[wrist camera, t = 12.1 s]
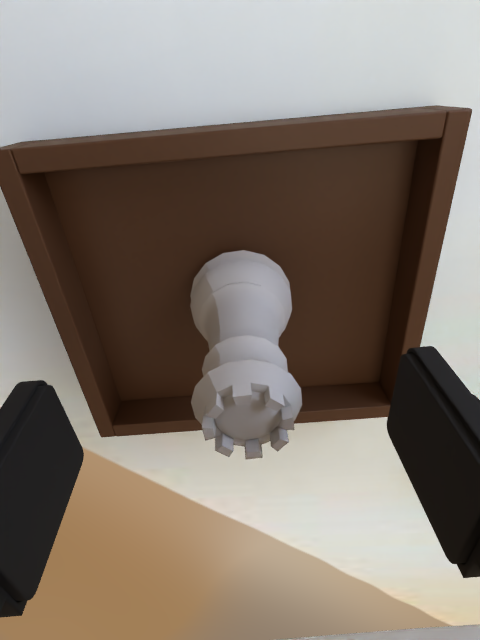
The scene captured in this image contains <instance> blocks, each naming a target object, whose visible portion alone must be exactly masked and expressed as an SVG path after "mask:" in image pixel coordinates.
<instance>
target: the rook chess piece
mask: <svg viewBox="0 0 480 640" xmlns="http://www.w3.org/2000/svg"><path fill="white" fill-rule="evenodd" d="M190 297H191V304H190V307H191V311H192V315H193V320H194V323H195V326H196V328H197V329H198V330H199V331H200V333H201V334H202V335H203V337H204V338H205V339H206V340H207V341H208V344H209V351H210V352H209V353H208V354H207V355H206V356H205V359H204V363H203V367H202V372H203V376H204V377H203V378H202V379H201V380H200V381H199V382H198V383H197V385H196V386H195V388H194V392H193V396H192V400H191V404H192V408H193V411H194V415H195V418H196V419H197V420H198V421H199V422H200V423H201V424H202V430H203V434H204V437H205V441H206V440H209V439H213V438H215V451H217V452H219V453H221V454H224V455H226V456H228V457H229V456H230V455H231V454H232V452H233V445H238V446H245V457H246V459H254V458H262V447H261V445H262V444H264V443H266V442H269V441H271V447H272V448H274V449H275V450H276V451H279V450H280V449H281V448H282V447H283V446H284V445H286V444H287V443H288V442H289V440H288V434H287V430H294V421H295V419H296V417H297V415H298V413H299V411H300V408H301V406H302V395H301V388H300V387H299V385H298V384H297V382H296V381H295V379H294V378H293V376H292V375H291V374H290V373H288V369H287V359H286V357H285V356H284V354H283V353H282V351H281V350H280V348H279V347H278V343H279V337H280V336H281V333H282V332H283V331H284V330H285V328H286V326H287V323H288V320H289V318H290V315H291V312H292V302H291V292H290V284H289V281H288V279H287V277H286V276H285V274H284V272H283V270H282V269H281V267H280V266H279V265H278V264H276V263H275V262H273V261H272V260H271V259H269V258H268V257H266V256H265V255H262V254H258V253H254V252H250V251H245V250H241V251H235V252H228V253H222V254H221V255H219V256H217V257H216V258H214V259H212V260H210V261H209V262H207V263H205V265H204V266H203V267H202V269H201V270H200V271H199V273H198V274H197V275H196V277H195V278H194V281H193V286H192V290H191V295H190Z"/></svg>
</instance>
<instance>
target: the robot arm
mask: <svg viewBox="0 0 480 640" xmlns="http://www.w3.org/2000/svg"><path fill="white" fill-rule="evenodd" d="M387 430H388V434H389V436H390V439H391V441H392V443H393V445H394V447H395V449H396V451H397V453H398V455H399V458H400V460H401V462H402V464H403V466H404V468H405V470H406V472H407V475H408V477H409V479H410V481H411V483H412V485H413V487H414V489H415V491H416V494H417V496H418V498H419V500H420V502H421V504H422V506H423V508H424V511H425V513H426V515H427V517H428V519H429V521H430V523H431V525H432V527H433V530H434V532H435V534H436V536H437V538H438V540H439V542H440V544H441V546H442V549H443V551H444V553H445V555H446V557H447V558H448V560H449V561H450V562H451V563H452V564H457V566H458V568H459V570H460V572H461V574H462V576H463V578H469V577H480V400H479V399H478V398H477V397H476V396H475V395H473V394H471V393H470V391H469V390H468V389H467V387H466V386H465V385H464V384H463V382H462V381H461V380H460V379H459V377H458V376H457V375H456V374H455V372H454V371H453V370H452V369H451V367H450V366H449V365H448V364H447V362H446V361H445V360H444V359H443V357H442V356H441V355H440V354H439V352H438V351H437V350H436V349H435V348H434V347H432V346H428V347H416V348H409V349H408V350H407V353H406V354H402V355H401V358H400V362H399V367H398V372H397V376H396V381H395V386H394V391H393V396H392V401H391V405H390V410H389V415H388V420H387ZM83 454H84V453H83V449H82V446H81V444H80V442H79V440H78V438H77V436H76V434H75V432H74V429H73V427H72V425H71V423H70V421H69V419H68V417H67V415H66V413H65V411H64V408H63V406H62V404H61V402H60V400H59V398H58V396H57V394H56V392H55V390H54V388H53V386H51V385H47V383H46V382H45V381H43V380H38V381H27V382H20V383H18V384H17V385H16V386H15V387H14V389H13V390H12V392H11V393H10V395H9V396H8V398H7V400H6V401H5V403H4V404H3V406H2V407H1V409H0V617H10V616H21V615H22V613H23V611H24V608H25V605H26V603H27V600H30V599H31V598H33V596H34V595H35V593H36V591H37V588H38V585H39V583H40V580H41V577H42V574H43V571H44V569H45V566H46V563H47V560H48V558H49V555H50V552H51V549H52V546H53V544H54V541H55V538H56V535H57V532H58V529H59V527H60V524H61V521H62V518H63V515H64V513H65V510H66V507H67V504H68V502H69V499H70V496H71V493H72V490H73V488H74V485H75V482H76V479H77V476H78V474H79V471H80V468H81V465H82V462H83V456H84V455H83ZM279 640H480V625H464V626H448V627H431V628H415V629H403V630H390V631H377V632H365V633H353V634H341V635H327V636H314V637H302V638H290V639H279Z"/></svg>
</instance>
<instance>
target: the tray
mask: <svg viewBox="0 0 480 640" xmlns="http://www.w3.org/2000/svg"><path fill="white" fill-rule="evenodd" d="M471 113H472V109H470V108H460V107H447V106H426V107H415V108H403V109H392V110H380V111H369V112H358V113H346V114H335V115H324V116H312V117H301V118H289V119H278V120H267V121H255V122H244V123H233V124H221V125H210V126H198V127H187V128H176V129H164V130H153V131H142V132H130V133H119V134H107V135H96V136H85V137H73V138H62V139H51V140H39V141H28V142H20V143H16V144H12V145H8V146H4V147H0V187H1V189H2V192H3V194H4V197H5V199H6V202H7V204H8V207H9V209H10V212H11V214H12V217H13V219H14V222H15V224H16V227H17V229H18V232H19V234H20V237H21V239H22V242H23V244H24V246H25V249H26V251H27V254H28V256H29V259H30V261H31V264H32V266H33V269H34V271H35V274H36V276H37V279H38V281H39V284H40V286H41V289H42V291H43V294H44V296H45V299H46V301H47V304H48V306H49V309H50V311H51V314H52V316H53V319H54V321H55V324H56V326H57V329H58V331H59V334H60V336H61V339H62V341H63V344H64V346H65V349H66V351H67V354H68V356H69V359H70V361H71V364H72V366H73V369H74V371H75V374H76V376H77V379H78V381H79V384H80V386H81V389H82V391H83V394H84V396H85V399H86V401H87V404H88V406H89V409H90V411H91V414H92V416H93V419H94V421H95V424H96V426H97V429H98V431H99V433H100V436H101V437H112V436H128V435H142V434H155V433H169V432H183V431H197V430H202V424H201V423H200V422H199V421H198V420H197V419H196V418H195V415H194V411H193V408H192V404H191V400H192V396H193V392H194V388H195V386H196V385H197V383H198V382H199V381H200V380H201V379H202V378H203V377H204V376H203V372H202V367H203V363H204V359H205V356H206V355H207V354H208V353H209V352H210V351H209V344H208V341H207V340H206V339H205V338H204V337H203V335H202V334H201V333H200V331H199V330H198V329H197V328H196V326H195V323H194V320H193V315H192V311H191V307H190V304H191V297H190V295H191V290H192V286H193V281H194V278H195V277H196V275H197V274H198V273H199V271H200V270H201V269H202V267H203V266H204V265H205V263H207V262H209V261H210V260H212V259H214V258H216V257H217V256H219V255H221V254H222V253H228V252H235V251H241V250H245V251H250V252H254V253H258V254H262V255H265V256H266V257H268V258H269V259H271V260H272V261H273V262H275V263H276V264H278V265H279V266H280V267H281V269H282V270H283V272H284V274H285V276H286V277H287V279H288V281H289V284H290V292H291V302H292V312H291V315H290V318H289V320H288V323H287V326H286V328H285V330H284V331H283V332H282V333H281V336H280V337H279V343H278V347H279V348H280V350H281V351H282V353H283V354H284V356H285V357H286V359H287V369H288V373H290V374H291V375H292V376H293V378H294V379H295V381H296V382H297V384H298V385H299V387H300V388H301V395H302V406H301V408H300V411H299V413H298V415H297V417H296V419H295V421H294V424H295V423H309V422H323V421H337V420H351V419H364V418H378V417H388V415H389V410H390V405H391V401H392V396H393V391H394V386H395V381H396V376H397V372H398V367H399V362H400V358H401V355H402V354H406V353H407V350H408V349H409V348H416V347H420V344H421V339H422V335H423V330H424V326H425V321H426V317H427V312H428V308H429V303H430V298H431V294H432V289H433V285H434V280H435V276H436V271H437V267H438V262H439V258H440V253H441V249H442V244H443V240H444V235H445V231H446V226H447V222H448V217H449V213H450V208H451V204H452V199H453V194H454V190H455V185H456V181H457V176H458V172H459V167H460V163H461V158H462V154H463V149H464V145H465V140H466V136H467V131H468V127H469V122H470V118H471Z"/></svg>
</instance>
